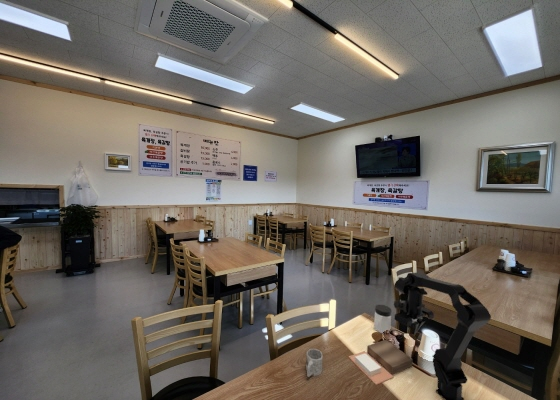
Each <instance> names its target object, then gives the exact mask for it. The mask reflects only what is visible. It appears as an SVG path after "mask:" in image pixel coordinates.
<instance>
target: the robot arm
mask: <svg viewBox="0 0 560 400" xmlns="http://www.w3.org/2000/svg"><path fill="white" fill-rule="evenodd" d="M424 288H427V289H430V290H433V291H436V292H440V293H443V294H446V295H447V296H448V297H449V298H450V300H451V304H452V307H453V308H454V310H455V311H456V320H457V324H456V326H455V328H454V330H453V332H452V334H451V335H450V338H449V339H448V342H447V344H446V346H445V347H444V348H443V347H442V348H436V349H435V351H434V354H432V364H433V370H434V375H435V377H436V378H437V385H436V386H437V387H436V388H437V389H435V392H436V394H438V395H439V396H440V397H441V398H443V399H444V400H445V399H446V400H465V399H464V397H463V394H462V393H463V384H467V382H468V378H467V376H466V374H465V373H464V370H463V368H462V366H463V362H462V360H461V358H462V356H463V354H464V352H465V351H466V349H467V347H468V345H469V343H470V342H471V340H472V338H473V336H474V335H475V333H476V331H478V330H479V329H481V328H483V327H484V326H486V325H487V324H488V323H489V322H490V320H491V318H492V315H491V313H490V312H489V311H490V310H488V308H487V307H486V306H485V305H484V304H483V303H482V302H481V301H480V300H479V299H478V297H476V296H475V295H473V294H472V293H471V292H468V290H467V289H466V288H465V286H463V285H461V284H459V283H457V284H455V283H452V282H448V281H444V280H440V279H435V278H432V277H430V276H429V275H428V274H426V273H424V272H408V273H407V275H406V277H403V276H402V277H398V279H397V280H396V281H395V282H394V289H395V290H396V291H398V292H399V293H401V294H403V295H405V296H408V297H407V300H395V301H393V306H394V308H395V309H397V310H403V312H399V313H395V314H394V320H395V321H397V322H398V324H399V323H400V324H401V325H403V326H404V327H409V329H410V333H411V335H412V336H415V335H416V334H417V333H418V331H419V330H420V328H421V327H422V326H423V325H424V323H425V322H426V320H425V319H423V317H425V316H427V318H428V320H431V319H435V317H434V316H435V313H434V312H433V310H430V309H428V308H426V307H425V305H426V304H424V296H427V295H428V292H427V291H426V290H425V289H424ZM460 298H461V299H463V301H464V302H465V303H467V304H463V302H461V299H460ZM405 313H407V314H405Z"/></svg>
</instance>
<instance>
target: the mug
mask: <svg viewBox="0 0 560 400" xmlns="http://www.w3.org/2000/svg"><path fill="white" fill-rule="evenodd" d="M305 362H306V363H305V365H306V367H305V368H306V374H307V375H306V376H307V378H310V377H311V376H313V377H314V376H316V377H317V376H320V375H321V374H322V373H323V353H322V351H321V350H319V349H318V348H309V349H308V350H307V351H306V361H305Z"/></svg>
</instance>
